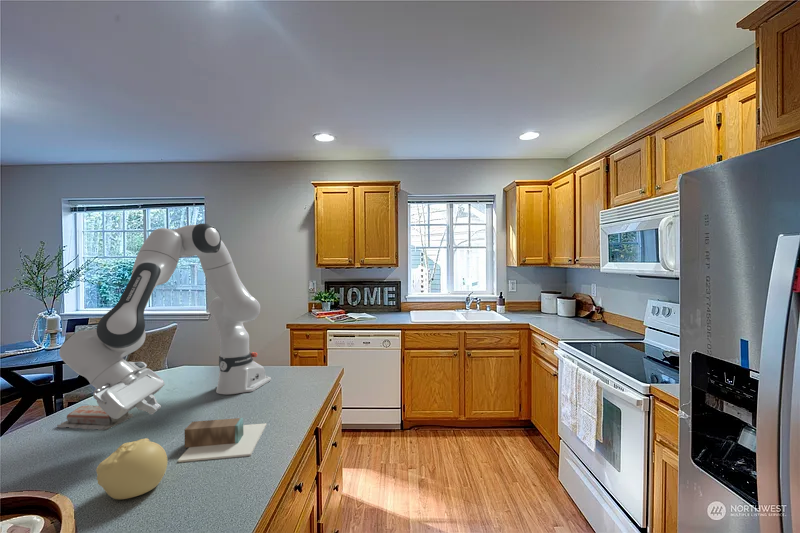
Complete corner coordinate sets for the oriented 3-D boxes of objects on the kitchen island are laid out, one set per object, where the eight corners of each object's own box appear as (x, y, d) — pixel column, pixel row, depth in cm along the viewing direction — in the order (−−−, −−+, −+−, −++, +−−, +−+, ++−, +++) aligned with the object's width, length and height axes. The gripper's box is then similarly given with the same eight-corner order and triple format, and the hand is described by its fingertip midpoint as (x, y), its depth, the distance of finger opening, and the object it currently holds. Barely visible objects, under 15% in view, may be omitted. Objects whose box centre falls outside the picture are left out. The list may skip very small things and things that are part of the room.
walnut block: (184, 429, 95) (237, 425, 97) (192, 421, 100) (243, 417, 102) (184, 447, 95) (238, 443, 97) (192, 438, 100) (243, 434, 102)
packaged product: (134, 403, 117) (105, 416, 107) (134, 417, 117) (106, 432, 107) (88, 401, 119) (56, 413, 109) (88, 415, 119) (56, 428, 109)
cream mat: (177, 462, 89) (177, 460, 89) (206, 429, 106) (206, 428, 106) (250, 455, 91) (250, 453, 91) (266, 424, 109) (266, 423, 109)
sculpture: (130, 474, 84) (129, 430, 84) (178, 474, 83) (177, 430, 83) (86, 507, 72) (85, 456, 72) (141, 507, 72) (140, 456, 72)
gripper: (99, 383, 85) (143, 418, 86) (146, 360, 105) (182, 389, 107) (79, 402, 84) (124, 438, 86) (131, 375, 104) (166, 404, 106)
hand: (156, 410), depth 96 cm, fingers closed
